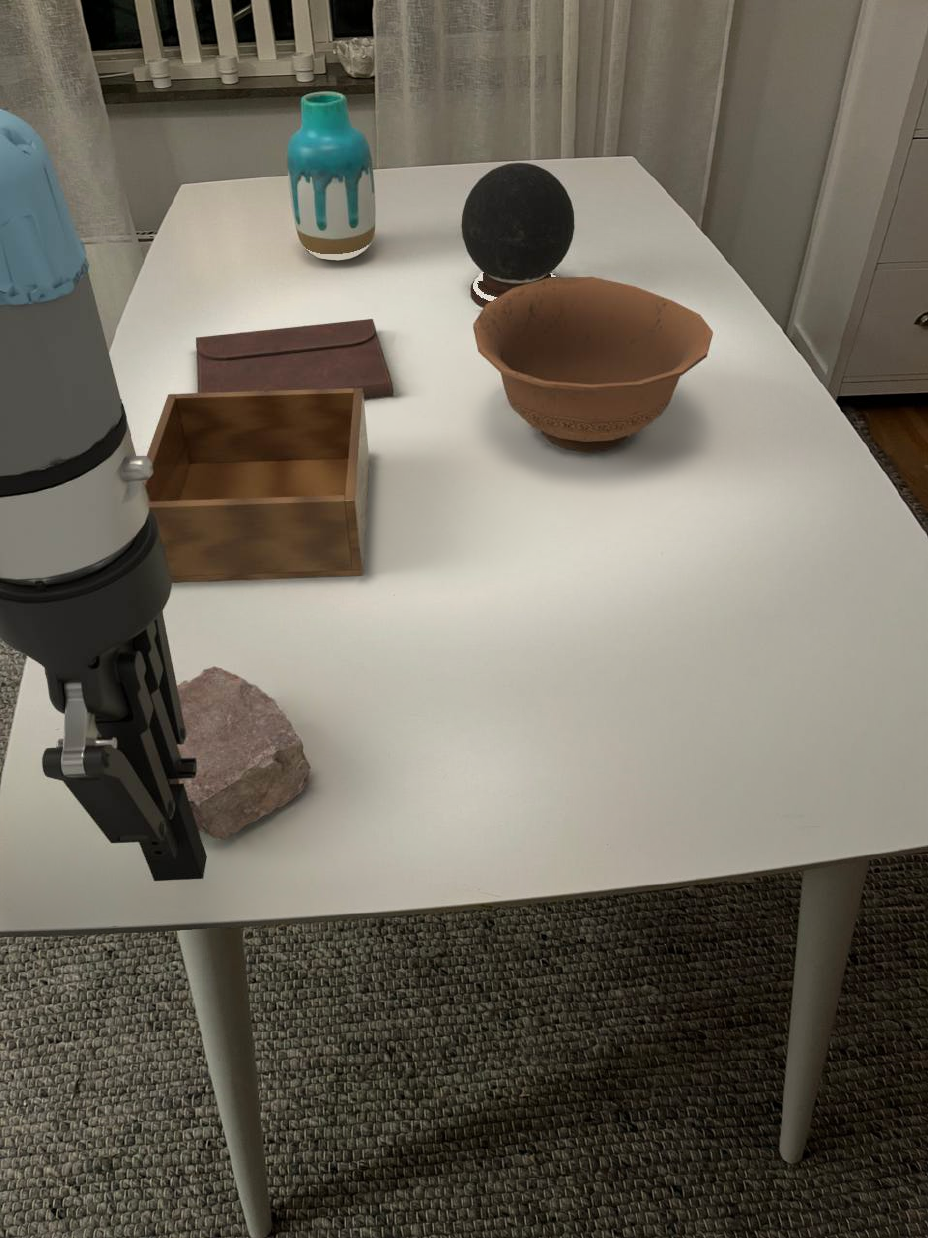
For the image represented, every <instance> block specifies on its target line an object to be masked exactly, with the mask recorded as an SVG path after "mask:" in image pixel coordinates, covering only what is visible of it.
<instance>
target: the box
mask: <svg viewBox="0 0 928 1238" xmlns="http://www.w3.org/2000/svg"><path fill="white" fill-rule="evenodd" d="M367 429H368V428H367V419H366V407H365V399H364V395H363V388H344V389H313V390H281V391H249V392H217V393H198V392H190V393H189V392H187V393H169V394H167V397H166V399H165V402H164V405H163V408H162V411H161V414H160V416H159V420H158V421H157V425H156V428H155V431H154V434H153V436H152V439H151V442H150V444H149V447H148V450H147V454H146V456H147V457H148V458H149V459H150V461H151V462H152V466H153V474H152V475H151V477H150V478H149V479H147V480H144V483H145V487H146V491H147V494H148V498H149V502H150V504H149V509H150V511H151V512H152V513H153V515H154V517H155V519H156V522H157V525H158V529H159V532H160V536H161V540H162V543H163V547H164V550H165V554H166V558H167V561H168V565H169V568H170V572H171V577H172V583H186V582H187V583H189V582H190V583H191V582H212V581H213V582H214V581H218V582H219V581H243V580H244V581H246V580H270V579H271V580H272V579H273V580H276V579H298V578H299V579H300V578H301V579H303V578H329V577H357V576H358V577H359V576H360V577H361V576H363V575H364V560H365V544H366V543H365V541H366V537H365V536H366V526H367V525H366V523H367V506H368V490H369V489H368V487H369V472H370V471H369V469H370V452H369V444H368V443H369V441H368V440H369V439H368V431H367Z"/></svg>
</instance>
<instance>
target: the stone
mask: <svg viewBox="0 0 928 1238" xmlns="http://www.w3.org/2000/svg"><path fill="white" fill-rule="evenodd" d="M177 689H178V694H179V699H180V705H181V710H182V715H183V720H184V725H185V729H186V739H185V741H184V744H179V745H177V746H178V749H179V752H180V755H181V758H196V762H197V772H196V776H195V778H186V779H178V780H179V783H180V784H184V787H185V790H186V793H187V796H188V799H189V803H190V806H191V809H192V812H193V815H194V818H195V821H196V824H197V827H198V830H199V831H200V832H203V833H204V834H206V835H208V836H210V837H212V838H214V839H221V840H225V839H226V838H227V837H229V836H233V835H235V834H236V833H238V832H239V831H241V829H243V827H244V826H246V825H248V824H251V823H255V822H257V821H258V820H259V819H260V818H262V817H263V816H265V815H269V814H271V813H273V811H274V810H275V809H277V808H281V807H284V806H285V805H286V804H287V803H289V802H291V801H292V800H294V799H295V798H296V796H297V795H299V794H300V793H302V792H304V790H305V786H306V785H307V783H308V781H309V774H310V773H311V770H310V769H311V765H310V762H309V761H308V759H307V758H306V755H305V752H304V744H303V742H302V739H301V737H300V736H298V735H297V731H296V730H295V729H294V727H293V724H292V723H291V721H290V720H289V718H288V717H287V716H286V713H285V712H284V711H283V710H282V709H281V708H279V707H278V703H277V702H276V701H275V699H273V698H272V697H270V696H268V694H267V693H266V692H264V690H263V689H261V688H260V687H259V686H258V685H256V684H254V683H249V682H248V681H247V680H245V679H244V678H242V677H240V676H239V675H237V674H236V673H231V672H230V671H228V670H225V669H223V668H221V667H218V666H212V667H210V668H205V669H203V670H202V671H201V672H200V673H199V675H197V676H195V677H194V678H192V679H190V680H183V681H182V682H180V683H179V684H178V685H177Z"/></svg>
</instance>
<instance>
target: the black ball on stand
mask: <svg viewBox="0 0 928 1238" xmlns="http://www.w3.org/2000/svg"><path fill="white" fill-rule="evenodd" d="M460 224H461V225H460V227H461V228H460V229H461V235H462V239H463V243H464V246H465V249H466V252H467V254H468V255H469V257H470V259H471V261H472V262H473V263H474V264H475V265H476V266H477V267H478V268H479V270H480V272H482V271H483V272H484V273H483V281H478V282H479V283H477V284H478V288H479V289H480V290H481V291H482V292H484V294H487V295H491V296H494V297H499V296H501V295H502V294H504V293H506V292H507V291H509V290H510V289H512V288H514V287H518V286H522V285H525V284H529V283H532V282H536V281H539V280H543V279H547V278H550V277H551V274H550V273H551V272H552V273H553V271H554V270H555V269H556V268H557V267H559V265H560V264H561V263H562V262H563V260H564V259H565V257H566V255H567V254H568V252H569V250H570V247H571V245H572V241H573V239H574V233H575V228H576V227H575V226H576V225H575V210H574V207H573V202H572V199H571V197H570V196H569V193H568V191H567V190H566V188H565V186H564V185H563V184H562V182H561V181H560V180H559V179H558V178H557V176H554V174H553V173H551V172H550V171H548V170H547V169H545V168H542V167H541V166H538V165H536V164H533V163H529V162H528V163H527V162H511V163H507V164H503V165H500V166H497V167H496V168H493V169H491V170H490V171H488V172H487V173H486V174H484V175H483V176H482V177H481V178H479V180H478V181H477V182H476V183H475V185H474V186H473V187H472V189H471V190H470V191H469V194H468V196H467V197H466V199H465V203H464V205H463V209H462V213H461V223H460ZM474 281H475V279H474V280H473V281H472V282H471V284H470V290H469V291H470V297H471V298H470V299H471V300H472V301H473V303H475V305H477V306H478V307H480V308H482V309H483V308H484V307H485V305H486V304H488V303H489V302H491V301H488V300H486V299H484V298H481V297H480V296H479V295H477V294H476V292H475V291H474V289H473V283H474Z"/></svg>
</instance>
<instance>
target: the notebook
mask: <svg viewBox="0 0 928 1238" xmlns="http://www.w3.org/2000/svg"><path fill="white" fill-rule="evenodd" d="M381 345H382V344H381V342H380V339H379V336H378V333H377V327H376V324H375V322H374V319H373V318H367V319H366V318H365V319H357V320H348V321H340V322H339V321H338V322H330V323H329V322H328V323H321V324H320V323H318V324H310V325H301V326H291V327H281V328H271V329H264V330H253V331H245V332H244V331H243V332H234V333H227V334H224V333H223V334H217V335H206V336H197V337H195V349H196V377H197V380H196V381H197V393H217V392H249V391H281V390H313V389H344V388H363V395H364V400H367V399H375V398H385V397H393V396H394V385H393V380H392V376H391V374H390V370H389V367H388V364H387V361H386V358H385V355H384V352H383V349H382V346H381Z"/></svg>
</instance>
